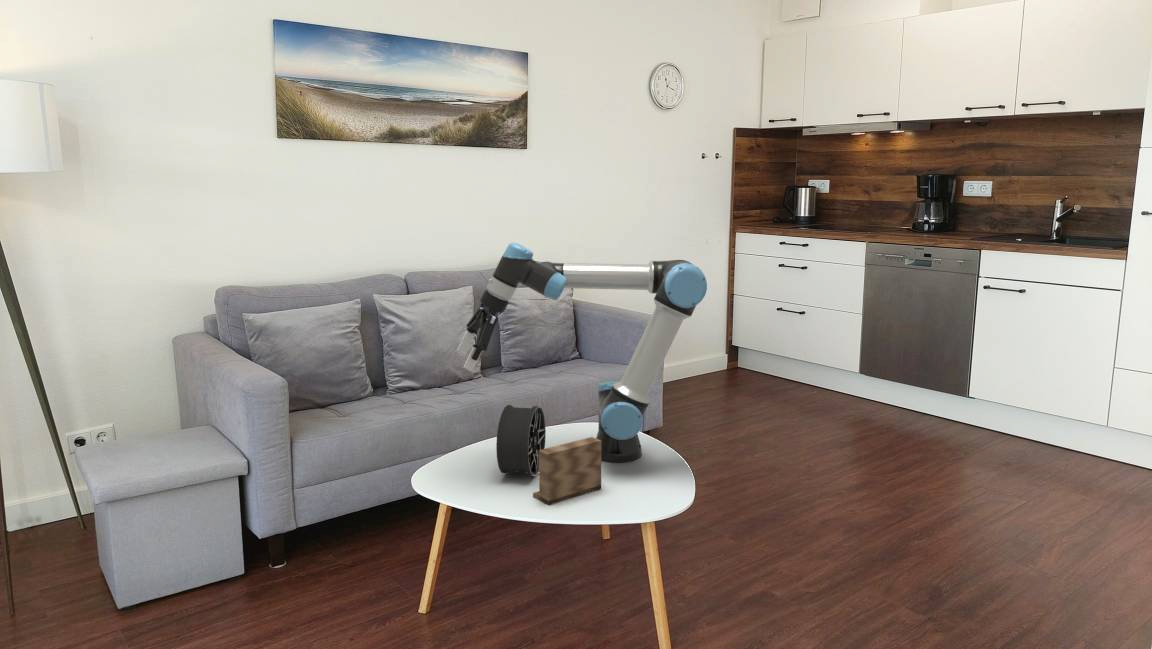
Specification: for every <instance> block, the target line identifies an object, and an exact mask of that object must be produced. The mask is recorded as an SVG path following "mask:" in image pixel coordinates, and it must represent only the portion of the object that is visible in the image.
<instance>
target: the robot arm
mask: <svg viewBox="0 0 1152 649" xmlns="http://www.w3.org/2000/svg"><path fill="white" fill-rule="evenodd" d="M533 256H534V252H533V251H532V250H530V248H527V247H526V246H524V245H522V244H520V243H518V242H510V243H509V244H508V245H507V247H506V249H505V251H504V252H503V254H502V255H501V257H500V260H499V262H498V264H497V266H496V268H495V270H494V272H493V274H492V276H491V278H488V284H487V286H486V290H484V291H483V293H482V296H481V298H480V300H479V302H480V305H479V307H478V308H477V310H476V311H475V313H474V314H473V316H472V317H471V318H470V320H469V321H468V323H467V324H466V331H465V333H464V335H463V337H462V339H461V341H460V343H459V345H458V347H457V349H456V352H458V353H461V354H463V355H466V354H467V353H468V350H469V348H470V346H471V345H472V349H471V351H470V352H469V355H468V357H467V359H466V361H465V363H464V365H463V368H464V369H467V370H470V371H472V372H473V371H474V369H475V368H476V365H477V363H478V361H479V359H480V357H481V355H482V354H483V352H486V351H487V350H488V348H489V343H490V341H491V338H492V335H493V333H494V329H495V326H496V324H497V323H498V321H499V320H498V319H499V318H498V317H497V316H496V315H497V313H500V314H502V313H504V312H505V311H506V309H507V308H508V305H509V300H510V301H511V300H512V298H513V296H514V294H515V292H516V290H517V288H518V285H519V283H520V285H523V286H525V287H527V288H529V289H531V290H532V291H535V292H536V293H539V294H541V295H542V296H544V297H545V298H549V299H551V300H553V301H557V300H558V299H559V298H560V297H561V295H562V293H563V291H564V289H586V290H587V289H588V290H594V289H595V290H628V291H629V290H632V291H633V290H636V291H639V290H640V291H647V292H648V293H650V294H655V296H654V298H653V301H654V304H655V308H654V311H653V312H652V314H651V317H650V319H649V321H648V323H647V325H646V327H645V330H644V331H643V332H642V333H643V334H642V336H641V338H640V340H639V342H638V344H637V346H636V348H635V350H634V352H633V355H632V357H631V359H630V362H629V363H628V365H627V367H626V370H625V371H624V373H623V375H622V378H621V380H610V381H604V382H603V381H602V382H600V383H599V385H598V391H597V393H598V429H597V434H596V437H595V438H596V439H599V440H601V461H603V462H611V463H625V462H626V463H627V462H632V461H635V460H638V459H639V458H641V457H642V445H641V442H640V438H639V435H638V434H639V432H640V430H641V429H642V426H643V423H644V422H643V421H644V418H643V417H644V415H645V412H646V411H647V408H648V407H649V404H650V402H651V400H650V397H649V392H650V390H651V387H652V386H653V384H654V382H655V379H656V378H657V375H658V373H659V372H660V370H661V367H662V365H663V363H664V361H665V359H666V356H667V354H668V353H669V351H670V349H671V346H672V345H673V342H674V340H675V338H676V336H677V334H678V332H679V330H680V328H681V326H682V324H683V322H684V320H686V319H688V318H691V317H692V316H693V313H694V311H695V309H696V307H697V305H699V304H700V303H701V302H702V301H703V300H704V298H705V296H706V294H707V290H708V283H707V278H706V275H705V274H704V272H703V271H702V269H700V267H698V266H696V265H695V264H693V263H691V262H690V261H689V260H684V259H673V260H672V259H671V260H657V261H656V260H652V261H650V262H648V263H647V264H643V263H642V264H638V263H635V264H633V263H631V264H630V263H585V262H584V263H580V262H579V263H576V262H575V263H574V262H552V261H541V262H538V261H536V260H534V259H533ZM477 334H478V335H477ZM476 335H477V339H476V343H474V344H472V342H473V340H474V338H475V337H476Z"/></svg>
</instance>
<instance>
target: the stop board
mask: <svg viewBox="0 0 1152 649" xmlns="http://www.w3.org/2000/svg"><path fill="white" fill-rule="evenodd" d="M538 477H539V478H538V480H539V482H538V489H539V490H538V491H535V492H532V497H533V498H534V499H536V500H537V501H539V502H541V503H543V504H545V505H547V506H550V505H554V504H557V503H560V502H563V501H567V500H571V499H574V498H576V497H579V496H583V495H587V494H590V493H593V492H596V491H595V490H597V491H600V490H602V460H601V440H599V439H596V437H593V436H590V437H586V438H582V439H579V440H574V441H571V442H566V443H563V444H558V445H555V446H550V447H547V448H546V447H545V449H542V450H539V473H538ZM599 489H600V490H599ZM592 491H593V492H592ZM589 492H590V493H589ZM586 493H587V494H586ZM573 497H574V498H573Z"/></svg>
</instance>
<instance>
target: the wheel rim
mask: <svg viewBox="0 0 1152 649" xmlns="http://www.w3.org/2000/svg"><path fill="white" fill-rule="evenodd" d="M544 412H545V411H544V410H543V407H541V406H540V405H534V406H532V407H517V406H516V407H514V406H513V405H511V404H507V405H506V406H505V407H504V408H503V410H502V412H501V414H500V418H499V421H498V426H497V433H496V445H495V447H496V448H495V449H496V451H495V452H496V460H497V465H498V469H499V471H500V473H502V474H508V473H523V474H527V475H528V476H529V477H536V476H537V475H539V473H538V472H539V450H542V449H546V432H547V431H546V430H547V429H546V420H545V418H546V417H545V413H544Z"/></svg>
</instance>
